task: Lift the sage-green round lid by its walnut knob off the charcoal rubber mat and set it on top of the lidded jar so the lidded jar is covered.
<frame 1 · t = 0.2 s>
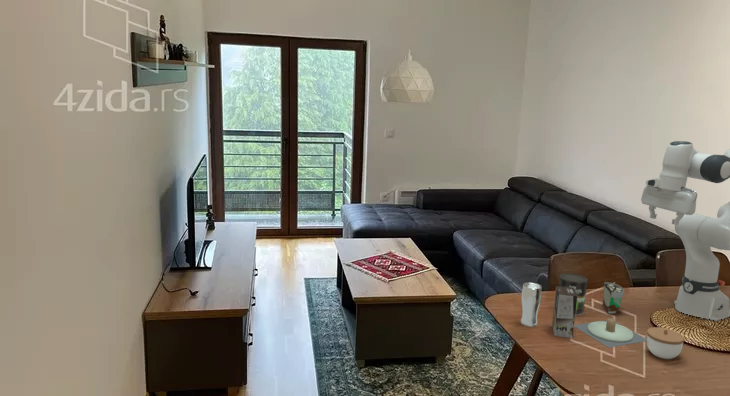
hand: (663, 221, 197), 39 cm above the table, tool pointing down, fingers open, 8 cm apart
coffee box: (562, 333, 192), on the table
mat: (609, 334, 191), on the table
food container: (613, 311, 211), on the table
lidded jar: (662, 356, 176), on the table
coffee can: (569, 311, 211), on the table
lid: (609, 332, 191), resting on mat
beer glass: (528, 323, 199), on the table
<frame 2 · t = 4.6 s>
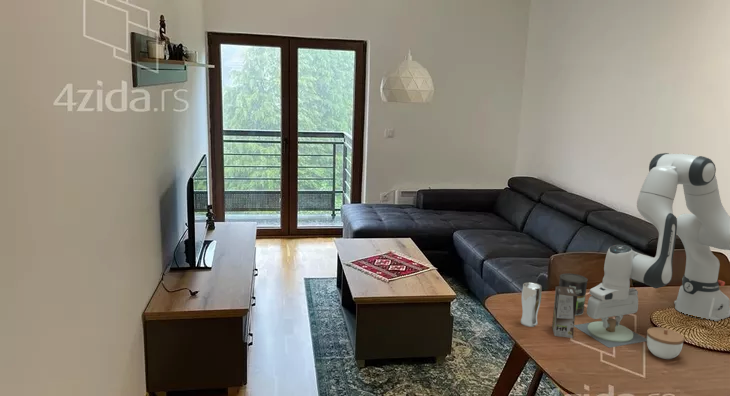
hand: (610, 326, 191), 3 cm above the table, tool pointing down, fingers closed on lid, 3 cm apart
lid: (609, 332, 191), resting on mat, touching gripper
everything else where it was.
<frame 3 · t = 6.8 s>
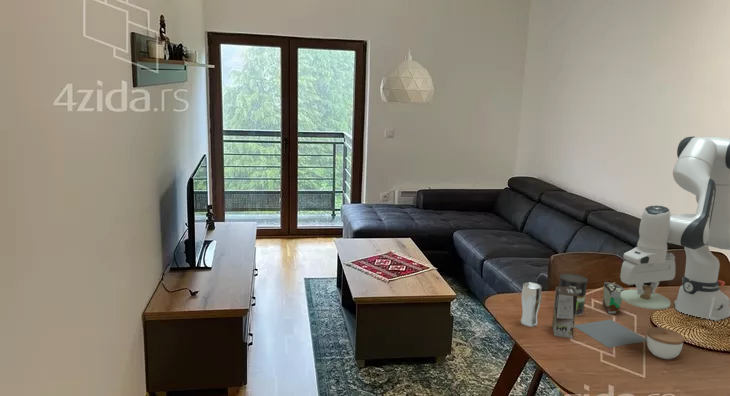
hand: (645, 293, 179), 19 cm above the table, tool pointing down, fingers closed on lid, 3 cm apart
lid: (644, 300, 179), point 17 cm above the table, touching gripper
everything else where it was.
when the fingers open (13 cm above the table, at t = 9.1 s): lid drops 1 cm, resting on lidded jar.
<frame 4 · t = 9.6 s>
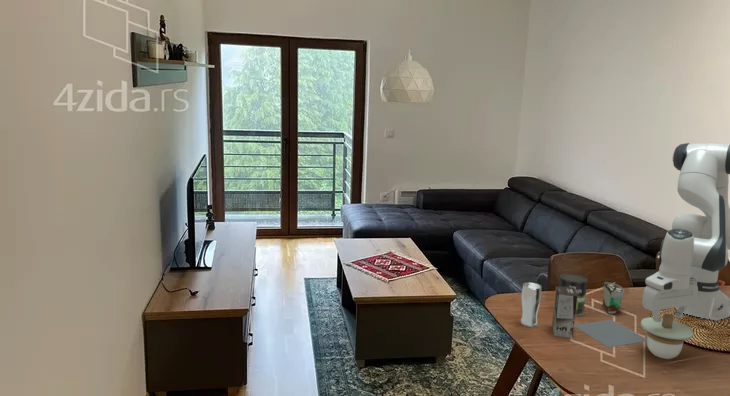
hand: (667, 319, 174), 13 cm above the table, tool pointing down, fingers open, 8 cm apart
lidded jar: (662, 356, 176), on the table, touching lid
lid: (666, 329, 174), point 9 cm above the table, touching lidded jar
everything else where it was.
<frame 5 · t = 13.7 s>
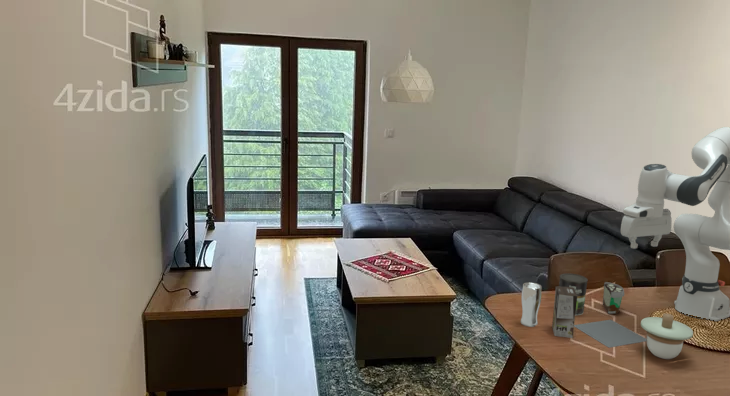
hand: (644, 247, 191), 31 cm above the table, tool pointing down, fingers open, 8 cm apart
nothing on the table moved.
at the end: lid 0.1 cm from the lidded jar (horizontally); lid point 9.4 cm above the table; lid touching lidded jar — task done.
